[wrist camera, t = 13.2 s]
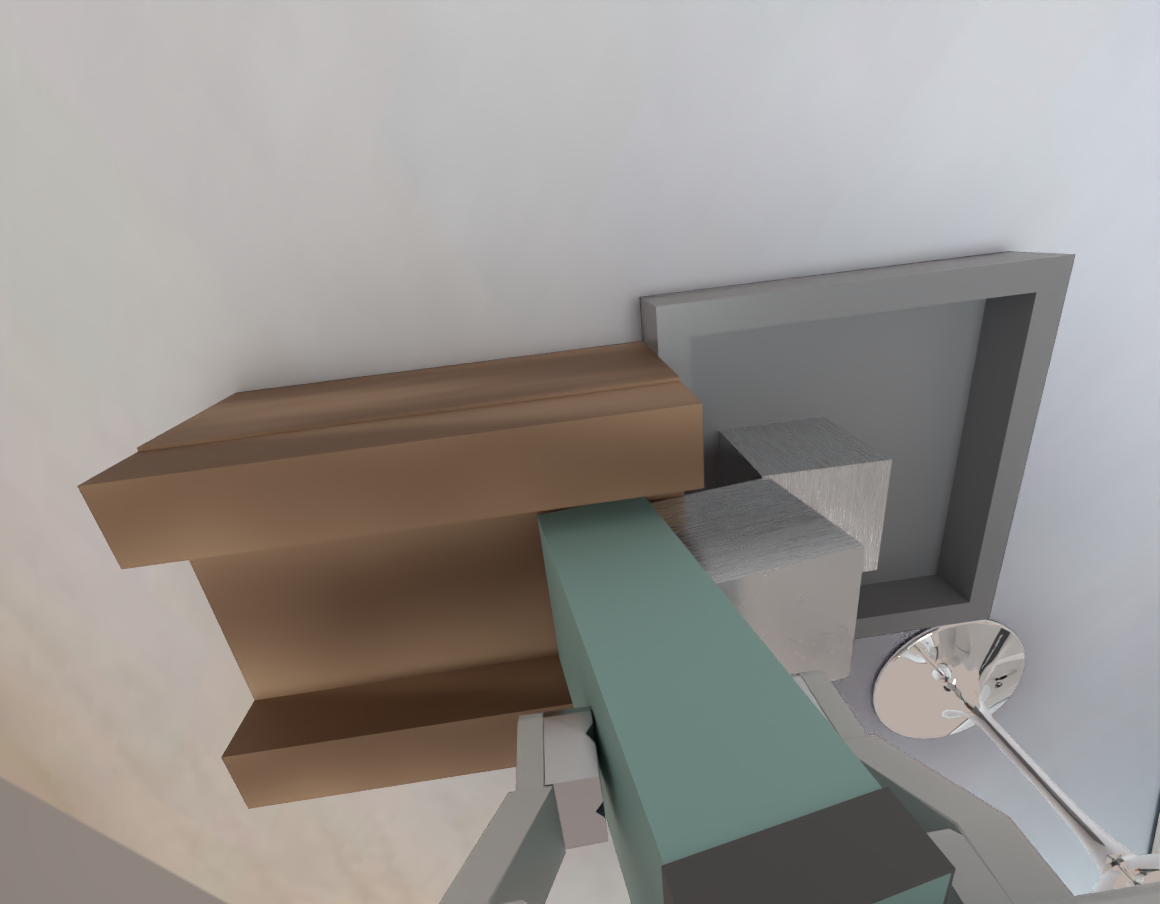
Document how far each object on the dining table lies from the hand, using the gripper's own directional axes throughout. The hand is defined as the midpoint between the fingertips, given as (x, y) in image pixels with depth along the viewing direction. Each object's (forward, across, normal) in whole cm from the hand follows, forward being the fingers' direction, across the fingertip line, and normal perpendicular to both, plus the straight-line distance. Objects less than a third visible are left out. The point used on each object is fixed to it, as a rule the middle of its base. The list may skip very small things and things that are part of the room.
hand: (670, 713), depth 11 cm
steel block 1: (+8, -4, 0) cm, 9 cm away
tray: (+10, -8, 0) cm, 13 cm away
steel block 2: (+6, -2, 0) cm, 6 cm away
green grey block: (+5, +1, 0) cm, 5 cm away
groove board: (+10, +5, 0) cm, 12 cm away
